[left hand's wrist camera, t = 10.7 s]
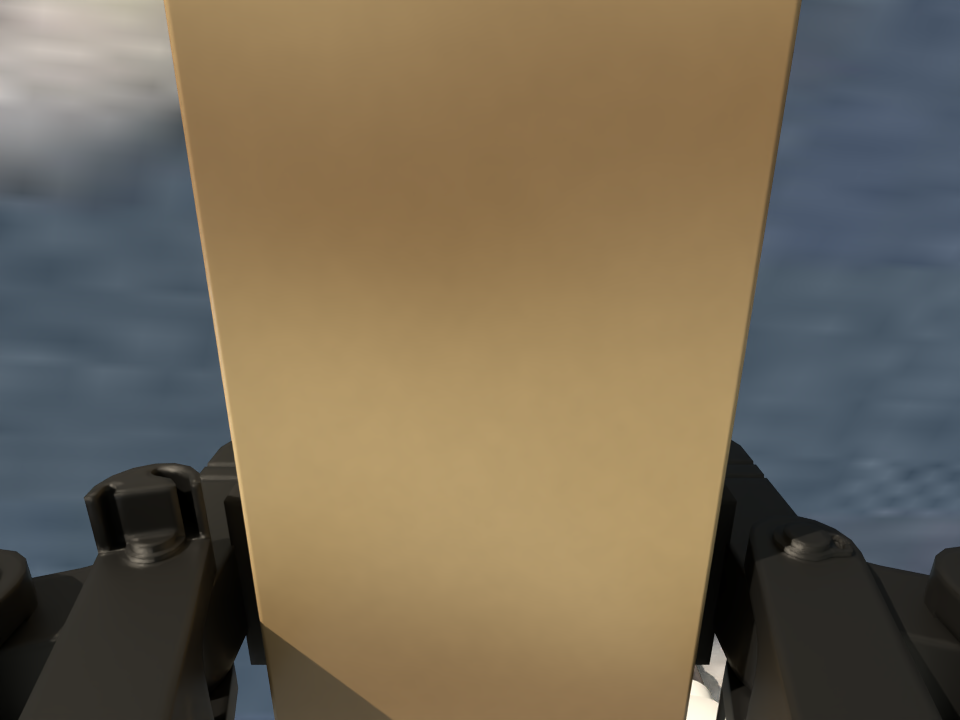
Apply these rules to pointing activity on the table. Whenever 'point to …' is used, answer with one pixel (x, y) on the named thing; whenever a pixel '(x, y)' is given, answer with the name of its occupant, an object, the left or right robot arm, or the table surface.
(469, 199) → the oak beam
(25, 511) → the table surface
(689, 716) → the light bulb
